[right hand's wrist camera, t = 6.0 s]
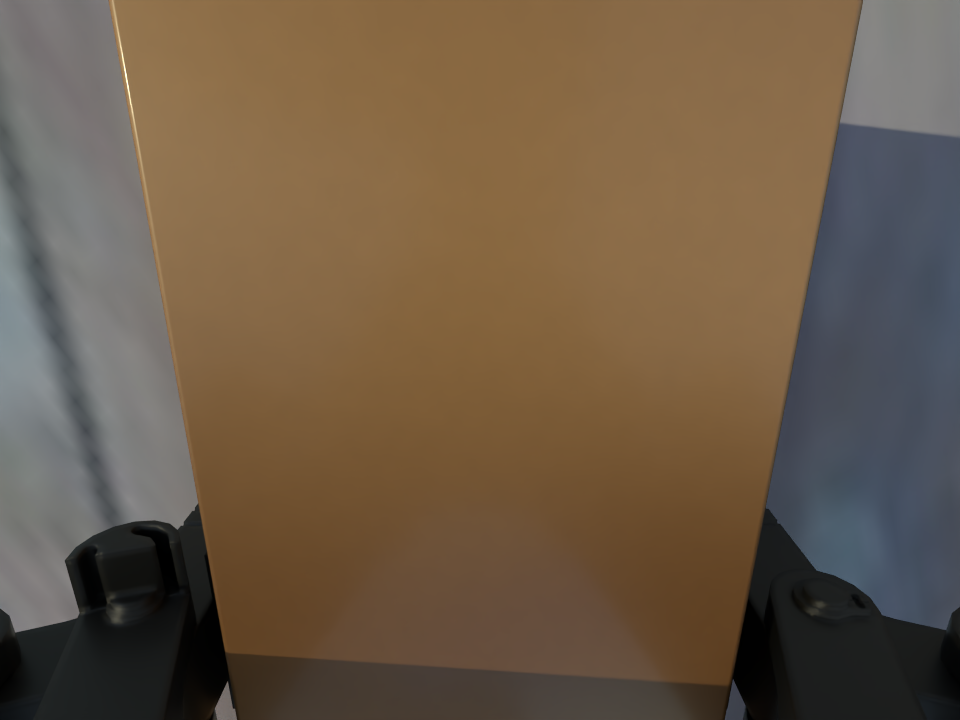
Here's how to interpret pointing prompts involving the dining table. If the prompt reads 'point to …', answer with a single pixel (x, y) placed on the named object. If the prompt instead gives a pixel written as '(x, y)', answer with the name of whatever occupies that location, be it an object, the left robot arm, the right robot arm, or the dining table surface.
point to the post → (483, 334)
